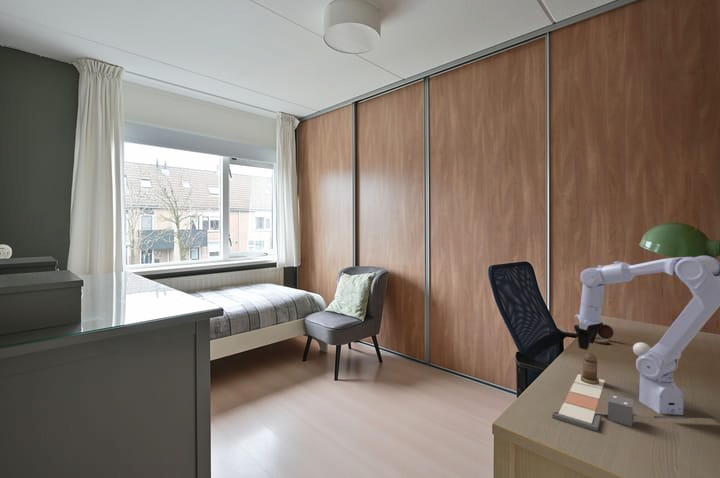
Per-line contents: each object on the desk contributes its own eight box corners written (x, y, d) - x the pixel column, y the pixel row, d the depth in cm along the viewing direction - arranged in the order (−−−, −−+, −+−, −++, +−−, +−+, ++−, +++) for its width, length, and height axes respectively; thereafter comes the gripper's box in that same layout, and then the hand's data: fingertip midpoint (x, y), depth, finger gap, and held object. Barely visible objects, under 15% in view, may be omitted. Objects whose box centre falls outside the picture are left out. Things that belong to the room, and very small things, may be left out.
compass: (590, 342, 153) (590, 325, 153) (597, 338, 157) (598, 322, 157) (611, 347, 146) (611, 330, 146) (618, 343, 151) (619, 326, 150)
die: (631, 426, 89) (632, 407, 89) (607, 419, 92) (608, 400, 92) (632, 418, 93) (633, 399, 93) (609, 412, 96) (610, 393, 96)
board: (597, 431, 87) (597, 426, 87) (552, 417, 94) (552, 412, 93) (610, 384, 112) (610, 380, 112) (573, 376, 119) (573, 372, 119)
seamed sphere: (652, 357, 135) (652, 342, 135) (650, 361, 131) (650, 346, 131) (627, 351, 141) (628, 338, 140) (624, 355, 137) (625, 341, 137)
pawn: (602, 384, 109) (602, 356, 109) (586, 384, 110) (586, 355, 109) (593, 378, 114) (593, 350, 114) (577, 377, 115) (578, 350, 114)
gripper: (583, 298, 120) (578, 336, 122) (570, 306, 110) (565, 347, 112) (607, 302, 115) (602, 342, 117) (596, 311, 105) (591, 355, 107)
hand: (586, 345), depth 114 cm, fingers open, 7 cm apart
